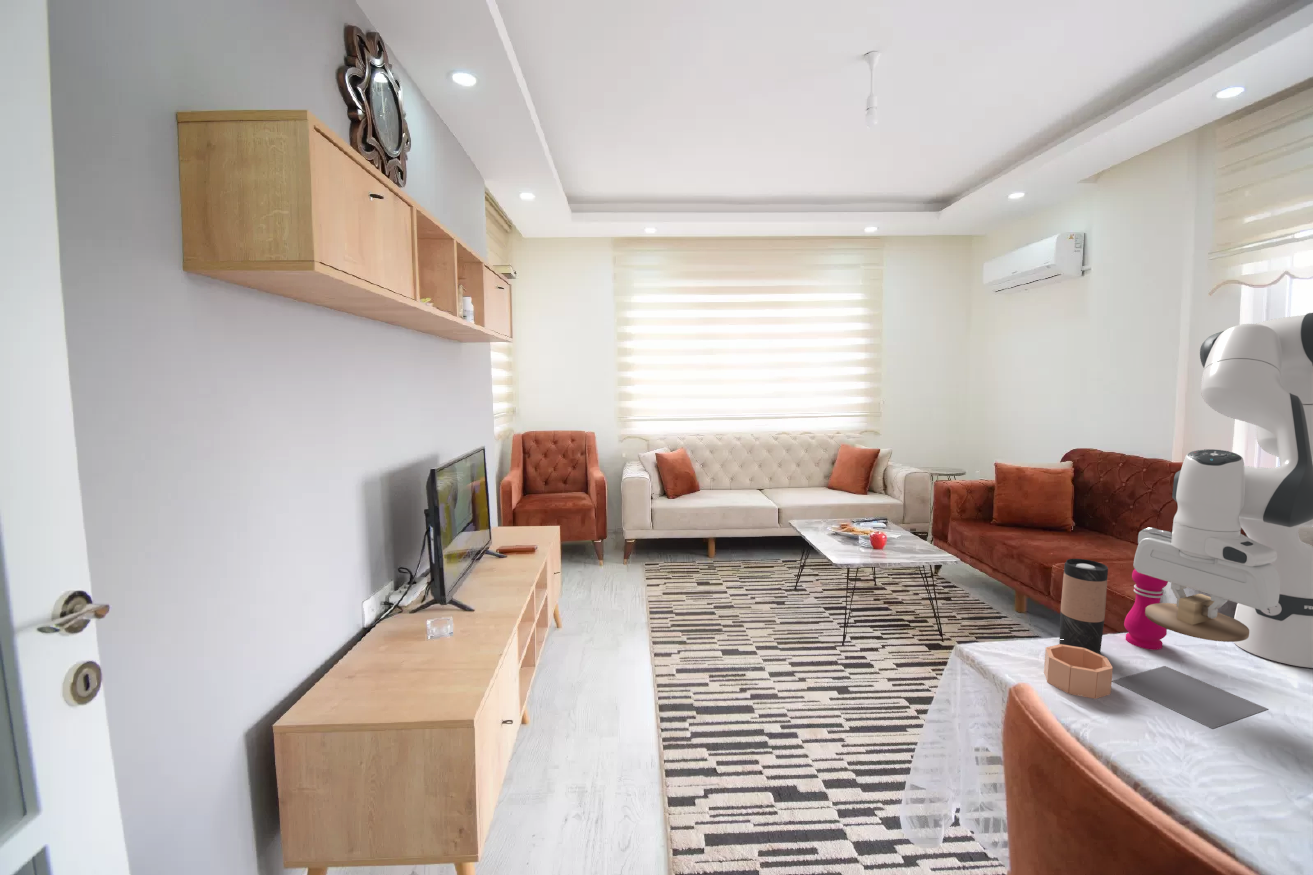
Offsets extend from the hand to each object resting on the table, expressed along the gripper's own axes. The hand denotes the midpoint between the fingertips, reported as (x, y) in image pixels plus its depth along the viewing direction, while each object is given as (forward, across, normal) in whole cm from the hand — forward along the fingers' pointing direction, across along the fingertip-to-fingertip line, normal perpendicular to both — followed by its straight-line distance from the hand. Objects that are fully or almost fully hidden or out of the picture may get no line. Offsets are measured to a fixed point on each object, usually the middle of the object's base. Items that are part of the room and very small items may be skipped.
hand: (1196, 612), depth 106 cm
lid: (+2, 0, 0) cm, 2 cm away
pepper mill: (+18, -16, +14) cm, 28 cm away
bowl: (+17, -10, -16) cm, 25 cm away
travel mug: (+17, -19, -1) cm, 26 cm away
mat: (+17, 0, 0) cm, 17 cm away
